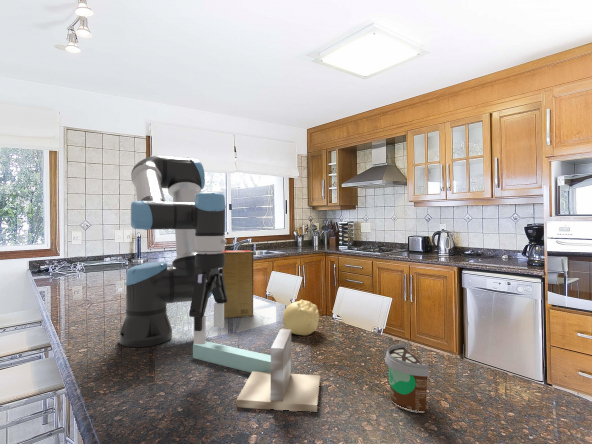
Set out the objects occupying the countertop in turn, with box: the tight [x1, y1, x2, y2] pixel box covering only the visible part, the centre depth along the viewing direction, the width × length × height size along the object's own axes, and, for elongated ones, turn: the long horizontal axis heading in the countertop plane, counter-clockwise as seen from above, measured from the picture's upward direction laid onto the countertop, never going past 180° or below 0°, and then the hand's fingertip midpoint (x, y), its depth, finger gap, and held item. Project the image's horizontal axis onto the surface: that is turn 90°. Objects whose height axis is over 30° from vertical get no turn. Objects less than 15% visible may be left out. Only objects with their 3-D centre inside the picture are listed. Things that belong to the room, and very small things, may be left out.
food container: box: [384, 343, 430, 412], centre depth 72 cm, size 12×6×10 cm, turn 5°
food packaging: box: [222, 249, 254, 319], centre depth 137 cm, size 13×9×25 cm
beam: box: [192, 340, 271, 374], centre depth 90 cm, size 26×4×4 cm, turn 62°
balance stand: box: [236, 328, 321, 413], centre depth 75 cm, size 16×13×12 cm
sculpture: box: [282, 299, 320, 336], centre depth 116 cm, size 12×12×11 cm
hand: (210, 334), depth 90 cm, fingers open, 13 cm apart
